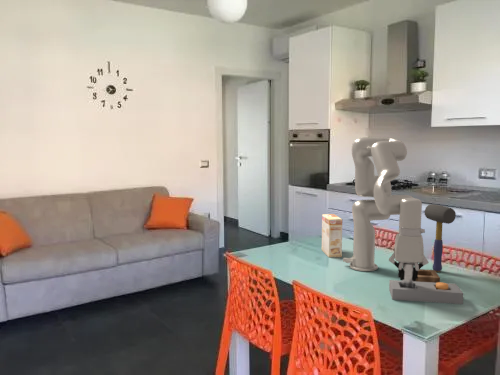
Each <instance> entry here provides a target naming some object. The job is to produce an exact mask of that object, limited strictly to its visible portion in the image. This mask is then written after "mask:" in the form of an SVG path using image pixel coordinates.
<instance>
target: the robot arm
mask: <svg viewBox="0 0 500 375" xmlns="http://www.w3.org/2000/svg"><path fill="white" fill-rule="evenodd" d="M351 155H352V160H353V163H354V186H355V189H354V190H355V193H356V195H357V196H358V197H364V198H370V197H373V199H360V200H356V201H355V202H354V203H353V204H352V206H351V213H352V219H353V244H352V245H353V248H352V249H353V252H352V256H350V257H343V258H342V261H343V263H347V264H349V268H350V269H352V270H355V271H358V272H359V271H360V272H374V271H376V270H378V265H377V264H376V263H375V250H376V248H375V247H376V245H375V244H376V230H375V229H376V228H375V226H373V224H372V221H385V220H388V219H389V218H390V217H391V216H398V215H399V220H398V221H399V222H398V233H396V235H395V239H394V246H393V253H392V254H391V256H390V257H389V258H388V262H390V263H391V264H393V265H394V266H395V267H396V268H397V270H398V272H397V277H398V278H399V279H400V280H399V281H402V280H403V269H402V266H403V262H409V263H414V276H413V280H414V281H416V278H418V271H419V269H422V268H423V267H424V266H425V265H426V266H427V265H428V264H429V262H430V261H428V259H427V257H426V256H425V253H424V252H425V250H424V239H423V235H422V234H425V233H426V231H425V228H422V212H423V211H422V208H423V202H422V200H421V199H419V198H414V197H413V196H412V195H410V194H392V184H391V182H392V181H393V180H395V179H397V178H398V177H399V176H400V174H401V169H400V167H399V164H398V162H402V161H404V160H405V159H406V158H407V155H408V149H407V146H406V145H405V143H404V142H403V141H401V140H399V139H396V138H392V137H386V136H384V137H381V136H377V137H376V136H373V137H372V136H371V137H370V136H369V137H359V138H357V139H355V140H354V141H353V143H352V146H351ZM370 157H371V158H372V159H371V158H370ZM375 169H376V172H377V175H376V174H375Z"/></svg>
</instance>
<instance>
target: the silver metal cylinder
mask: <svg viewBox="0 0 500 375" xmlns="http://www.w3.org/2000/svg"><path fill="white" fill-rule="evenodd" d="M402 269H403V280H401V281H402V288H413V276H414V263H409V262H403V266H402Z"/></svg>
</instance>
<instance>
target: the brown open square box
mask: <svg viewBox="0 0 500 375" xmlns="http://www.w3.org/2000/svg"><path fill="white" fill-rule="evenodd" d="M413 281H414V280H413ZM416 282H434V283H437V282H441V277H440V276H439V274H438V272H436V271H435V270H433V269H423V268H420V269H419V271H418V278H416Z"/></svg>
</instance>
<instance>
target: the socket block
mask: <svg viewBox="0 0 500 375" xmlns="http://www.w3.org/2000/svg"><path fill="white" fill-rule="evenodd" d="M446 283H447V284H448V290H441V289H436V283H434V282H416V281H413V288H402V280H395V279H389V282H388V284H389V285H388V286H389V288H388V292H389V294H390V297H391V300H395V301H409V302H410V301H411V302H423V303H424V302H425V303H440V304H451V305H452V304H453V305H454V304H455V305H463V304H464V292H463V291H462V289H461V288H460V287H459V286H458V285H457V283H449V282H446Z"/></svg>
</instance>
